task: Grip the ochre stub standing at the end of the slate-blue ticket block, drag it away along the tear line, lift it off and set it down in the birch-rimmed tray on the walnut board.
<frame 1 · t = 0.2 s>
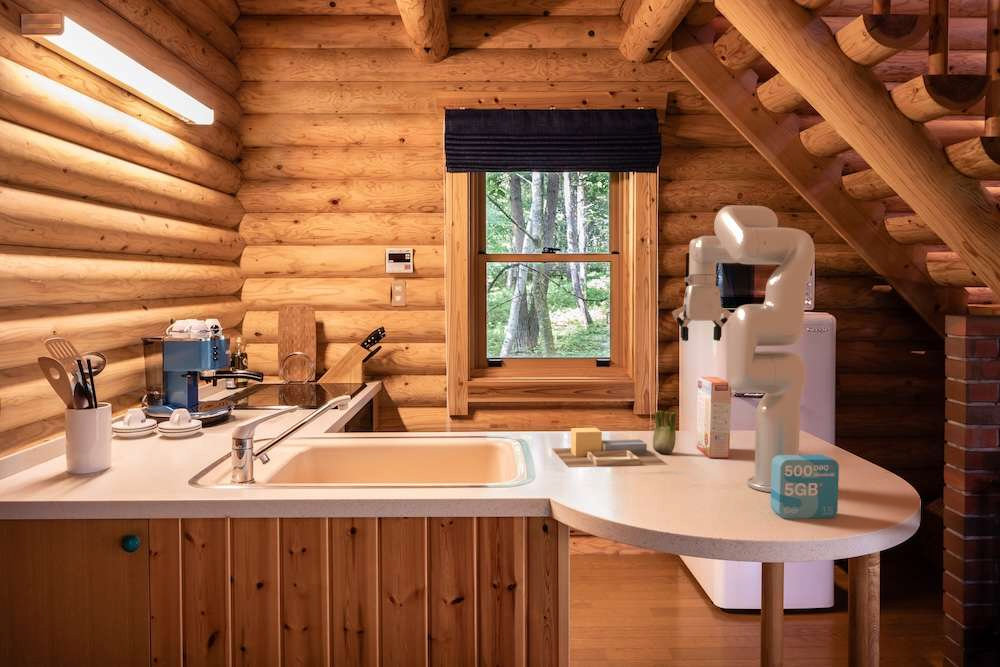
hand: (700, 340, 214), 31 cm above the countertop, tool pointing down, fingers open, 9 cm apart
fennel bulb: (663, 454, 206), on the countertop
stub: (585, 453, 200), point 1 cm above the countertop, touching board
cracker box: (712, 453, 207), on the countertop
board: (607, 460, 197), on the countertop
data package: (803, 516, 150), on the countertop
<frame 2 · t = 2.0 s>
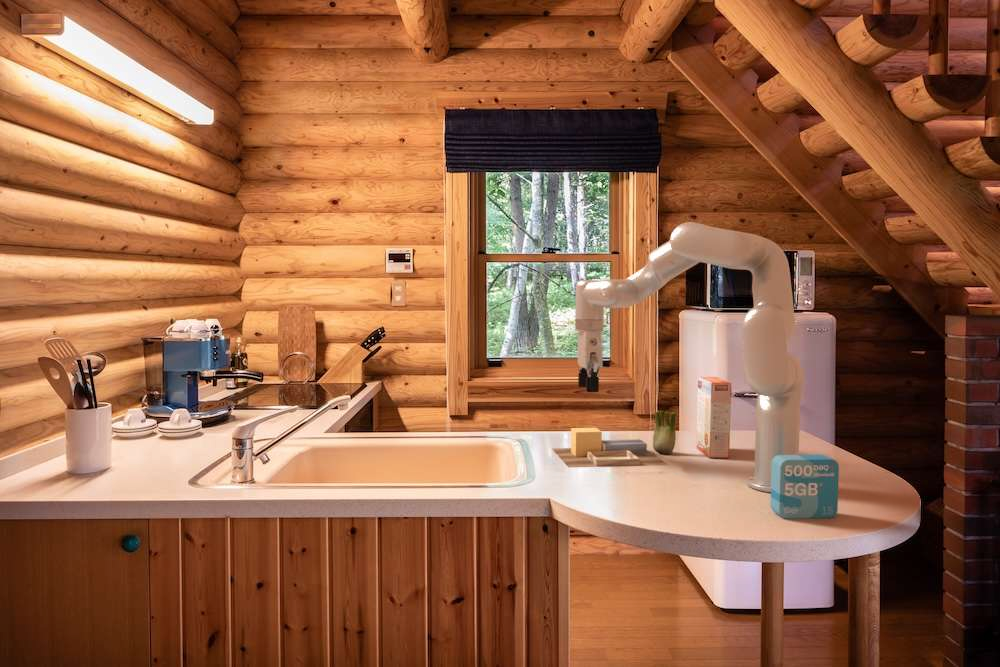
hand: (588, 389, 199), 19 cm above the countertop, tool pointing down, fingers open, 9 cm apart
nothing on the countertop moved.
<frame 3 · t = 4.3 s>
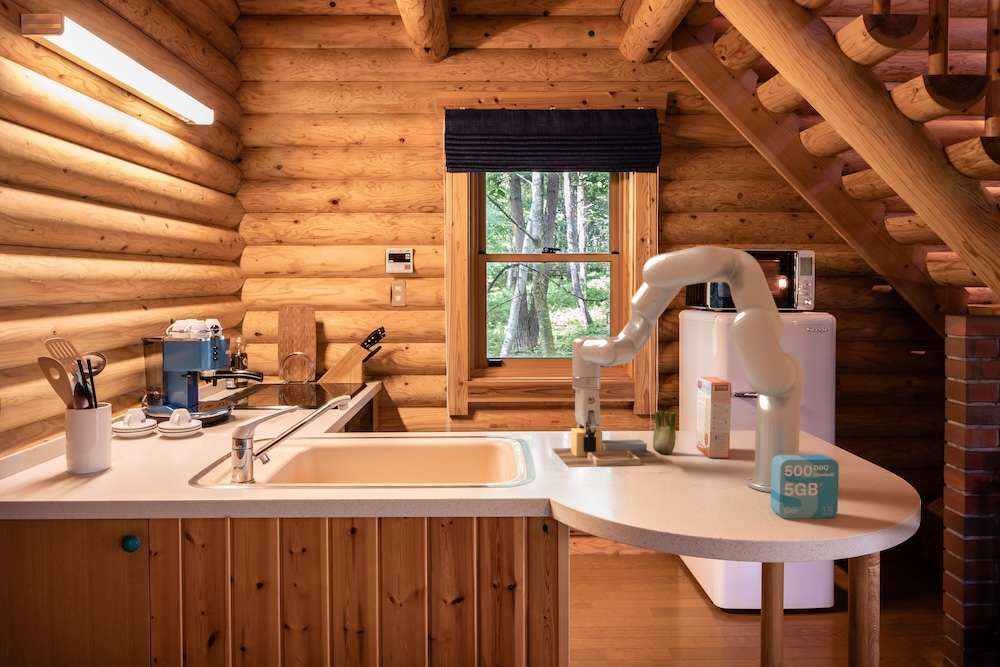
hand: (586, 448, 199), 3 cm above the countertop, tool pointing down, fingers open, 6 cm apart
stub: (586, 453, 199), point 1 cm above the countertop, touching board, gripper
everything else where it was.
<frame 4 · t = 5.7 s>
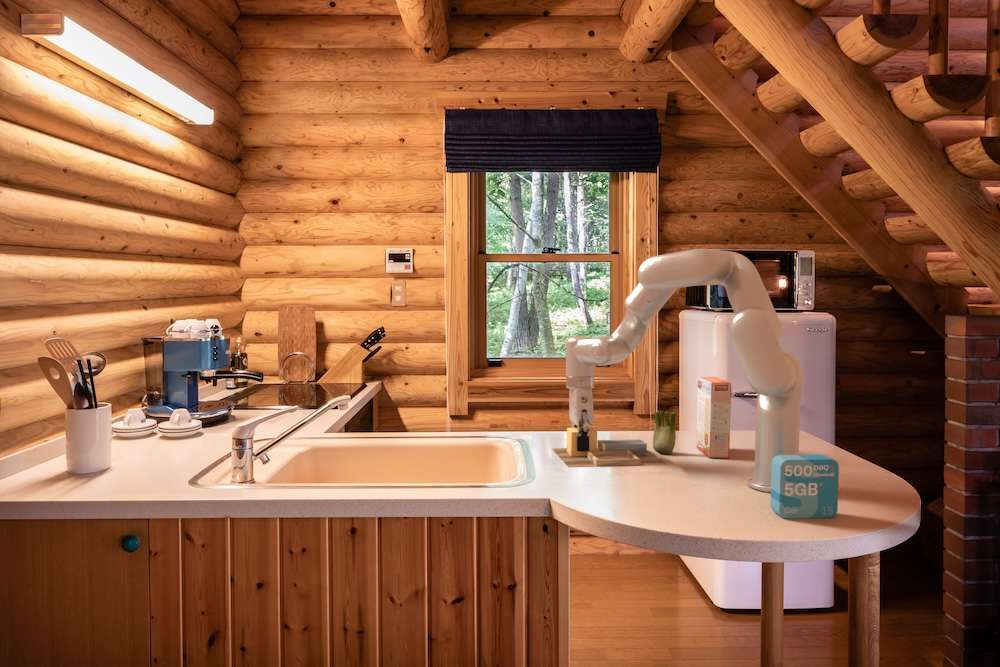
hand: (580, 447, 200), 3 cm above the countertop, tool pointing down, fingers closed on stub, 6 cm apart
stub: (581, 453, 200), point 1 cm above the countertop, touching gripper
everything else where it was.
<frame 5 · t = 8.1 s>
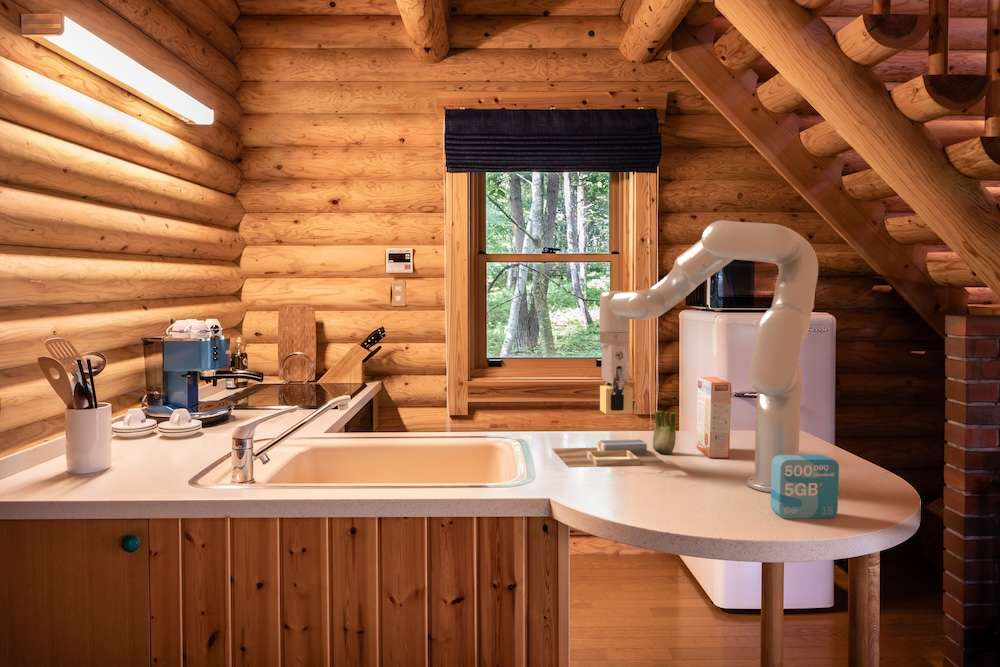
hand: (613, 407, 191), 15 cm above the countertop, tool pointing down, fingers closed on stub, 6 cm apart
stub: (616, 411, 191), point 14 cm above the countertop, touching gripper
everything else where it was.
when the fingers open (4 cm above the countertop, at t = 10.6 s): stub drops 2 cm, resting on board.
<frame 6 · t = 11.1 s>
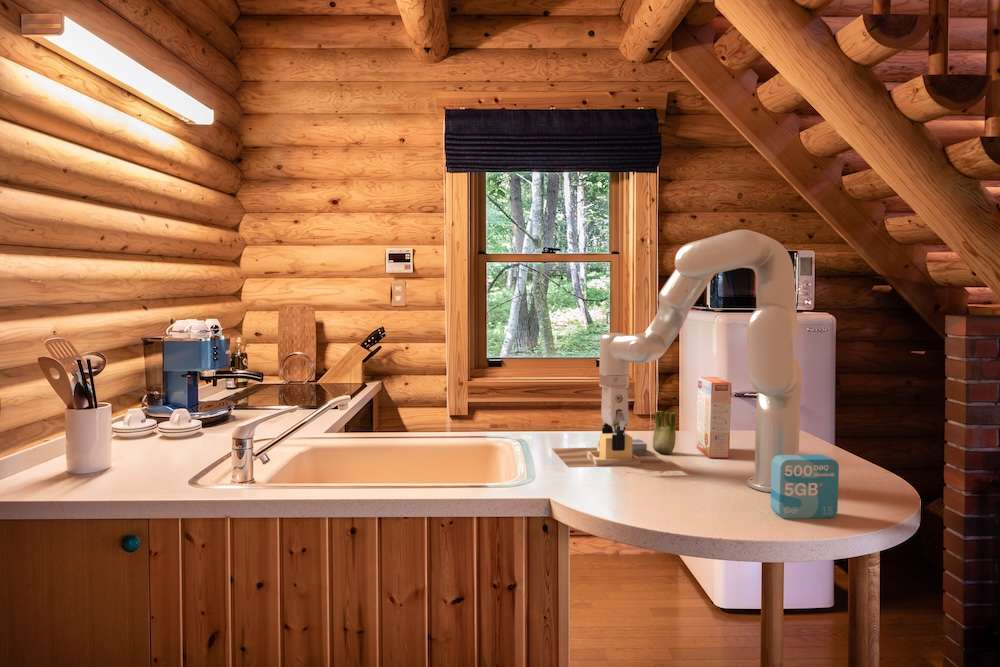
hand: (613, 446, 191), 5 cm above the countertop, tool pointing down, fingers open, 9 cm apart
stub: (615, 460, 192), point 1 cm above the countertop, touching board
everything else where it was.
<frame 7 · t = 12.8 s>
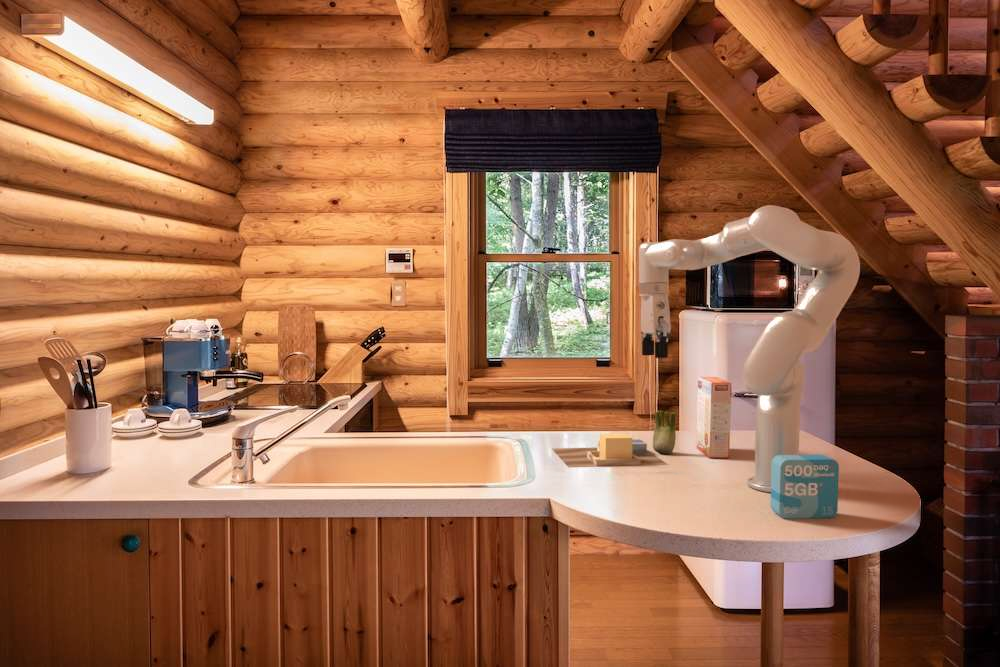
hand: (654, 356, 191), 28 cm above the countertop, tool pointing down, fingers open, 9 cm apart
nothing on the countertop moved.
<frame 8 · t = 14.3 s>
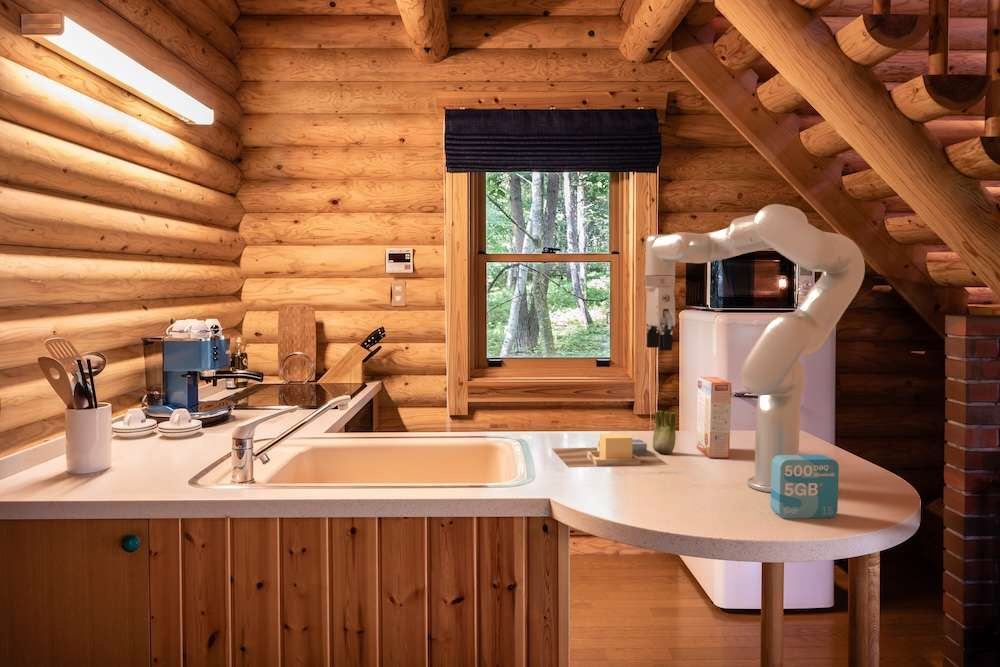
hand: (658, 348, 192), 30 cm above the countertop, tool pointing down, fingers open, 9 cm apart
nothing on the countertop moved.
at the end: stub inside the target area on the board (0.7 cm from its centre), point 1.3 cm above the board's base; the gripper is holding nothing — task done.
